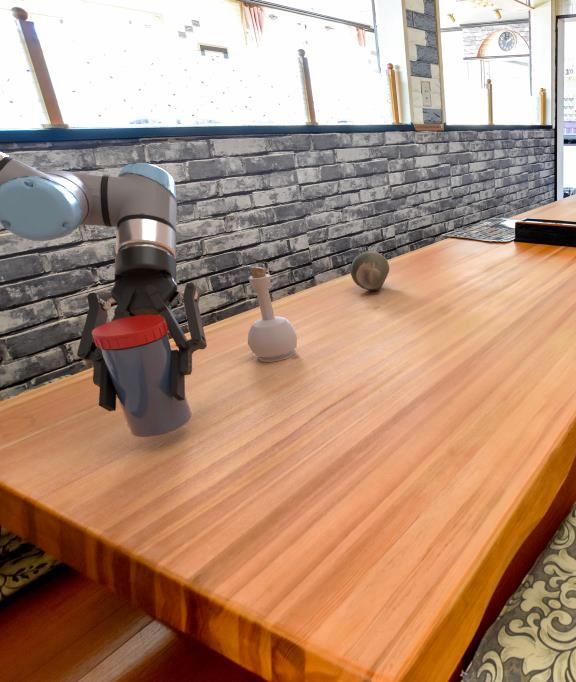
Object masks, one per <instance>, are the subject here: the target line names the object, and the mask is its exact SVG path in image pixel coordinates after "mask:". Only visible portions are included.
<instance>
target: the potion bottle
mask: <svg viewBox="0 0 576 682" xmlns="http://www.w3.org/2000/svg"><path fill="white" fill-rule="evenodd" d="M248 268H249V271H250V273H251V275H250V276H249V277H247V279H248V281H249V284H250V286H251V287H252V288H253V289H255V292H256V297H257V301H258V306H259V309H260V310H259V311H260V314H261V319H258V320H255V321H254V322H253V323H251V326H250V328H249V331H248V333H247V346H248V347H249V348H250V350H251V353H252V354H254V355H255V356H257V357H256V358H257V360H259V361H260V362H261V363H275V362H281V361H284V360H288V359H290V358H291V357H293V356H294V355H295V354H296V352H295V349H297V348H298V347H297V346H298V345H297V344H298V336H297V332H296V330H295V328H294V326H293V324H292V323H291V321H289V319H287V317H284V316H275V313H274V309H273V304H272V299H271V295H270V290H269V288H270V284H271V274H269V273H266V268H265V267H260V266H252V265H251V266H248Z"/></svg>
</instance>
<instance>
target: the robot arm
mask: <svg viewBox="0 0 576 682" xmlns="http://www.w3.org/2000/svg"><path fill="white" fill-rule="evenodd" d="M177 202H178V201H177V189H176V183H175V180H174V178H173V177H172V176H171V174H170V173H169V172H168V171H167V170H165V169H163V168H161V167H159V166H157V165H155V164H150V163H146V162H137V163H134V164H131V163H130V164H126V165H125V166H123V167H122V168H121V169H120V171H119V174H118V175H117V176H116V175H99V174H92V173H84V172H76V171H69V170H62V169H61V170H60V169H53V168H48V167H42V166H40V167H36V166H35V167H34V166H30V165H28V164H26V163H24V162H22V161H20V160H17V159H15V158H13V157H11V156H9V155H8V154H6V153H3V152H1V151H0V224H1V225H2V227H3V228H5V230H7V231H9V232H10V233H11V234H13V235H15V236H17V237H20V238H22V239H25V240H28V241H35V242H47V241H53V240H54V241H55V240H57V239H61V238H64V237H67V236H68V235H71V234H72V233H73V232H74V231H75V230H76V229H78V228H79V227H80V225H81V226H99V227H108V228H109V227H115V228H116V238H115V249H114V251H115V256H114V276H113V277H114V284H113V286H112V287H111V289H110V291H108V292H105V293H101V294H97V292H89V293H88V294H87V296H86V298H87V299H86V300H87V303H88V309H87V310H88V311H87V314H86V318H85V321H84V326H83V329H82V333H81V337H80V341H79V345H78V348H77V352H76V356H77V357H78V358H80V359H81V360H82V361H84V362H86V363H87V364H89V365H92V364H93V370H92V382H93V385H95V386H97V387H99V395H98V406H99V407H100V408H103V409H104V410H106V411H108V412H115V411H116V410H117V394H116V392H115V389H114V386H113V383H112V381H111V378H110V375H109V372H108V370H107V367H106V364H105V361H104V359H103V356H102V353H101V350H100V348H98V347H97V346H95V343H94V340H93V338H92V337H93V335H92V331H93V330H94V329H95V328H96V327H98V326H100V325H102V324H105V323H107V320H108V311H110V310H111V309H112V308H111V305H112V303H113V302H116V303H117V305H116V306H115V309H114V311H113V313H114V315H113V317H112V319H111V321H114V320H118V319H122V318H126V317H132V316H139V315H160V316H163V317H164V318H165V320H166V323H167V326H168V330H169V331H168V333H169V334H170V336H171V338H172V340H173V342H174V343H175V346H176V347H177V349H172V350H171V395H172V396H173V397H174V398H176V399H177V400H178V401H181V400H185V394H186V389H185V388H186V379H185V378H186V377H185V376H191V375H192V373H193V354H194V353H195V352H196V351H199V350H200V351H201V350H205V349H207V346H208V344H207V339H206V335H205V330H204V325H203V321H202V316H201V312H200V306H199V302H200V297H201V292H200V290H199V289H198V288H197V286H196V285H195V284H194V283H193V282H187V283H186V285H180V284H179V285H178V284H177V260H176V259H177V215H178V213H177V211H178V203H177ZM179 296H180V298H181V299H182V300H183V305H184V310H185V315H186V320H187V325H188V330H189V335H190V339H188V338H187V336H186V335H185V333H184V331H183V329H182V327H181V326H180V324H179V322H178V320H177V318H176V315H175V314H174V311H173V310H172V308H171V307H170V306H171V304H172V303H173V302H174V301H175V299H176V298H177V297H179Z"/></svg>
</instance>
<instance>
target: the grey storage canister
mask: <svg viewBox="0 0 576 682" xmlns="http://www.w3.org/2000/svg"><path fill="white" fill-rule="evenodd" d="M100 350H101V353H102V356H103V359H104V361H105V364H106V367H107V370H108V372H109V375H110V378H111V381H112V383H113V386H114V389H115V392H116V398H117V400H118V402H119V403H118V404H119V405H120V408H121V411H122V414H123V416H124V419H125V421H126V424H127V427H128V431H129V433H130V434H131V435H132V436H134V437H137V438H148V437H149V438H151V437H156V436H160V435H164V434H168V433H170V432H173V431H176V430H177V429H179V428H181V427H183V426H184V425H186V424H187V423H188V422H189V421H190V420H191V418H192V416H193V413H192V410H191V406H190V404H189V401H188V398H187V397H188V396H187V394H186V393H185V400H181V401H178V400H177V399H176V398H174V397H173V396H172V395H171V350H173V349H172V345H171V342H170V338H169V335H168V333H167V334H166V335H164V336H163V337H161V338H159V339H157V340H154V341H152V342H149V343H146V344H142V345H138V346H134V347H129V348H122V349H101V348H100Z"/></svg>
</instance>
